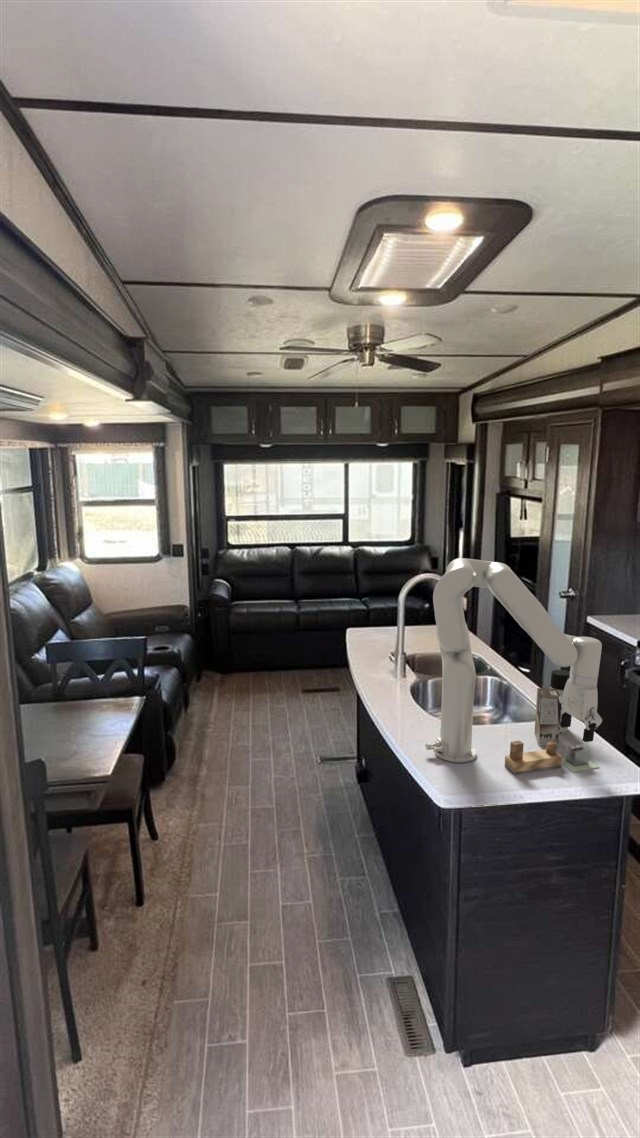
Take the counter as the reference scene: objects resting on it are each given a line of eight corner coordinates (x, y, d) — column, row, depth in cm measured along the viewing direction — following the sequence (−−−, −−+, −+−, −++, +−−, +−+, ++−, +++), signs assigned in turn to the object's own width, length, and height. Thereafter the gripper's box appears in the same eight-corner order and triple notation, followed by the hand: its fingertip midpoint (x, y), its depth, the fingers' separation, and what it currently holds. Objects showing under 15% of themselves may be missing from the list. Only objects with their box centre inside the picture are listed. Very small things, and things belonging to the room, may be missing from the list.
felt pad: (573, 772, 177) (573, 771, 177) (555, 759, 184) (555, 758, 184) (599, 767, 179) (599, 766, 179) (580, 755, 187) (580, 754, 187)
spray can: (544, 724, 209) (548, 668, 205) (564, 724, 208) (568, 669, 205) (550, 733, 202) (554, 675, 199) (571, 733, 202) (575, 676, 198)
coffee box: (559, 747, 192) (562, 699, 189) (537, 745, 193) (541, 697, 190) (554, 734, 201) (557, 688, 198) (533, 733, 202) (536, 687, 199)
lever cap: (574, 766, 179) (575, 749, 178) (565, 760, 183) (566, 743, 182) (588, 764, 180) (589, 747, 179) (579, 758, 184) (580, 741, 183)
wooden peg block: (514, 774, 175) (516, 747, 174) (504, 766, 180) (506, 739, 178) (561, 767, 180) (563, 740, 178) (550, 759, 184) (552, 733, 183)
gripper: (553, 669, 184) (547, 722, 187) (593, 691, 168) (586, 748, 171) (573, 668, 186) (567, 720, 189) (615, 689, 170) (607, 746, 173)
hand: (576, 733), depth 180 cm, fingers open, 9 cm apart
